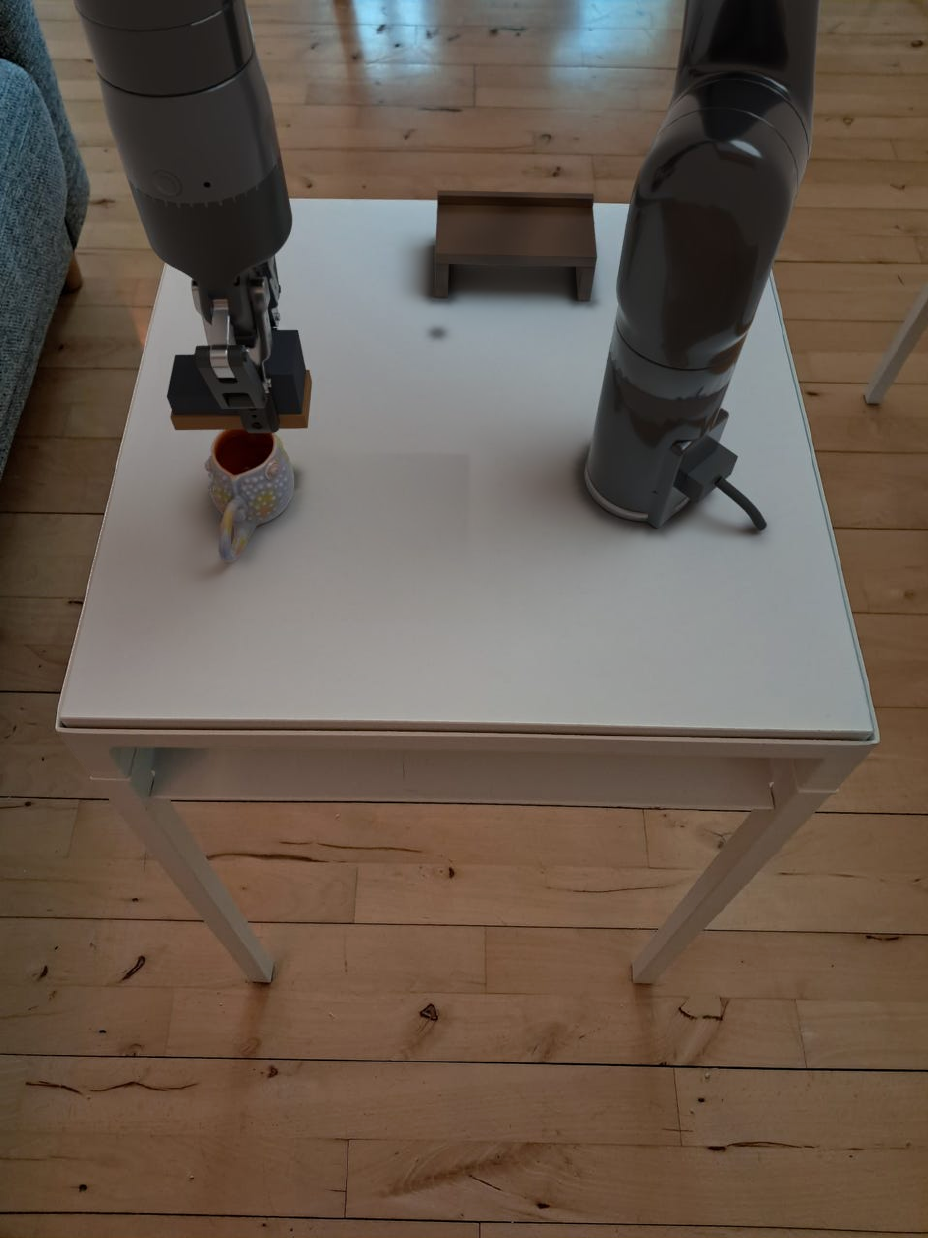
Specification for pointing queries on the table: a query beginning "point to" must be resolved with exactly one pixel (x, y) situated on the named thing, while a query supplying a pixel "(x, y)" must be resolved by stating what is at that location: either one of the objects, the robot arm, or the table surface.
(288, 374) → the stepped blocks on board
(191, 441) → the table surface
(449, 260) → the shoe shelf
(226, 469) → the mug
